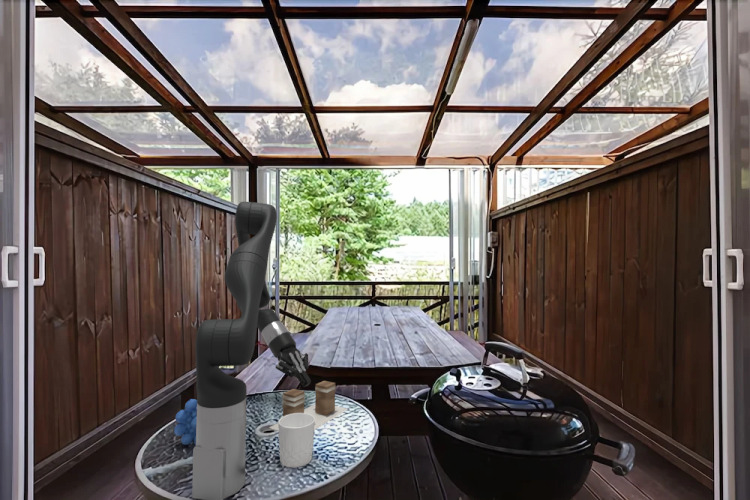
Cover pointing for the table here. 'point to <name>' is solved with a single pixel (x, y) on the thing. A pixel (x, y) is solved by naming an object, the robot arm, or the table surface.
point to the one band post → (325, 397)
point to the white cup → (296, 439)
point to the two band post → (293, 402)
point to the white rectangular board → (318, 416)
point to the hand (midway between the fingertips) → (307, 384)
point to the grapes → (187, 422)
